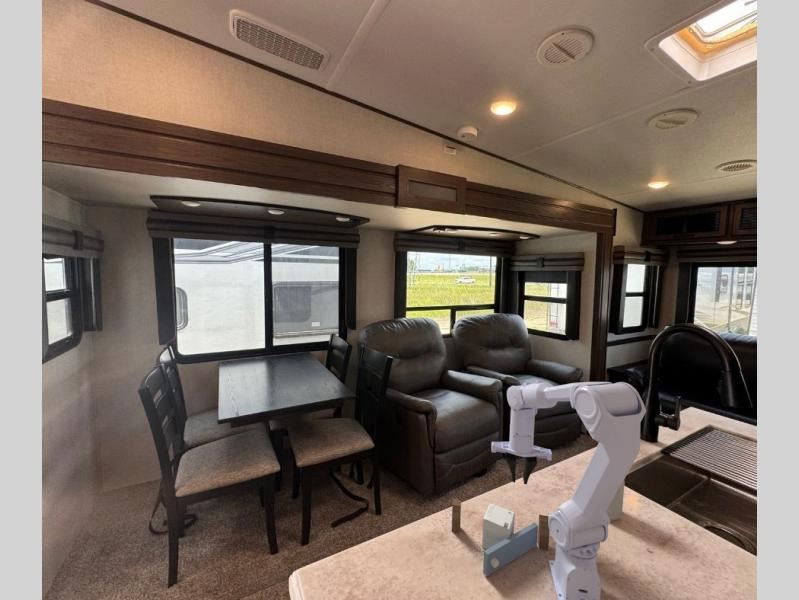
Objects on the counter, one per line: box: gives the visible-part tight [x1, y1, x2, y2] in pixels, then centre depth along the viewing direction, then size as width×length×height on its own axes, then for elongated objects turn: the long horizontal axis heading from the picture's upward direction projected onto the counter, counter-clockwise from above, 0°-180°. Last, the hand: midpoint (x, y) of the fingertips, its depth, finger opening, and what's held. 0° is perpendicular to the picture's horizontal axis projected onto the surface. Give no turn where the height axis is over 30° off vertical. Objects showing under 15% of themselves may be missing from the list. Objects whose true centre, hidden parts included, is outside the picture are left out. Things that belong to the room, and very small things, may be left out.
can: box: [606, 479, 626, 521], centre depth 86 cm, size 8×8×12 cm
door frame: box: [451, 498, 551, 552], centre depth 77 cm, size 2×22×7 cm, turn 76°
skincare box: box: [481, 502, 516, 550], centre depth 75 cm, size 6×6×7 cm
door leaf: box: [482, 522, 539, 577], centre depth 71 cm, size 2×16×5 cm, turn 120°
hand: (519, 480), depth 84 cm, fingers open, 2 cm apart
